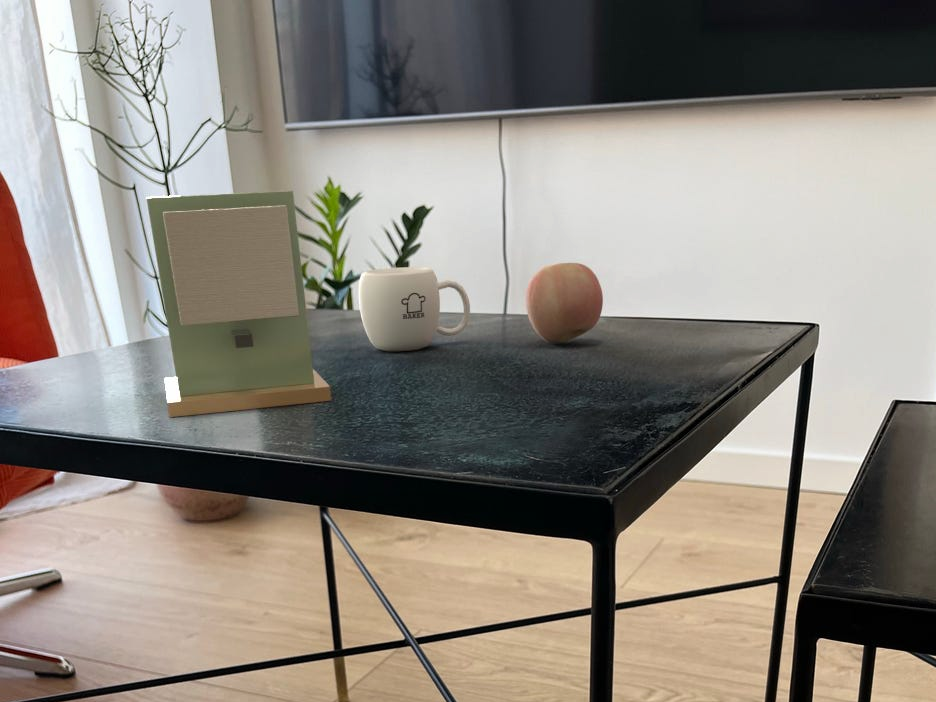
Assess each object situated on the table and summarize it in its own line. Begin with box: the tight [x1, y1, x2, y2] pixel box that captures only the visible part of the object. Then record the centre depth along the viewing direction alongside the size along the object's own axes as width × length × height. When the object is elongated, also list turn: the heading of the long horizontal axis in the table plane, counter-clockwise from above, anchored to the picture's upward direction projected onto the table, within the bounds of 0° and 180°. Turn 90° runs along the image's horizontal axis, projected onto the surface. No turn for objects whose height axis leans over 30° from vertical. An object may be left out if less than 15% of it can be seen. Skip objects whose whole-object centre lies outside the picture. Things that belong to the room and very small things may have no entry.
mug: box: [358, 266, 471, 352], centre depth 107 cm, size 12×8×8 cm
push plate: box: [163, 205, 299, 326], centre depth 77 cm, size 1×9×8 cm, turn 107°
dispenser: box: [145, 189, 332, 418], centre depth 84 cm, size 13×13×16 cm
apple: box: [525, 262, 604, 345], centre depth 105 cm, size 8×8×8 cm
